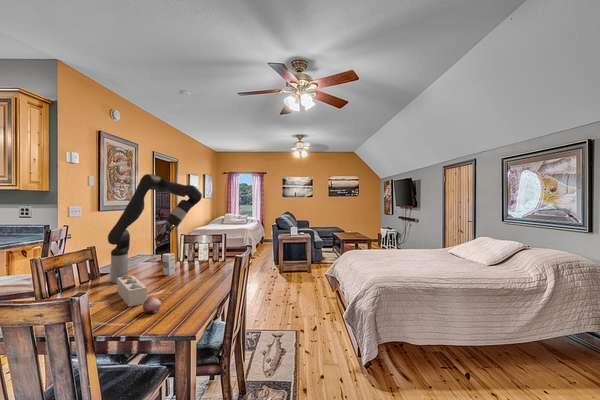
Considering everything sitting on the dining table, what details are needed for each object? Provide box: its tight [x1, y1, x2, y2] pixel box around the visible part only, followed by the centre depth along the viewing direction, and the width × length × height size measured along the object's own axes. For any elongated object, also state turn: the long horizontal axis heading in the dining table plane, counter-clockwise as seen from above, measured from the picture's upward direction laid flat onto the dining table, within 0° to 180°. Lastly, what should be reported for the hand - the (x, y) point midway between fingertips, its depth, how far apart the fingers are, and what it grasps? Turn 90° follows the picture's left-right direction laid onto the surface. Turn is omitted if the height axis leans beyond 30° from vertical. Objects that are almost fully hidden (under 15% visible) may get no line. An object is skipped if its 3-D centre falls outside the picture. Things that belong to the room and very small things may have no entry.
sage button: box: [132, 283, 141, 289], centre depth 153 cm, size 4×4×2 cm
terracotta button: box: [123, 274, 132, 280], centre depth 170 cm, size 4×4×2 cm
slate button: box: [127, 279, 135, 284], centre depth 162 cm, size 4×4×2 cm
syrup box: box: [162, 252, 176, 277], centre depth 209 cm, size 6×6×14 cm
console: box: [116, 275, 148, 307], centre depth 162 cm, size 30×8×8 cm, turn 41°
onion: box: [142, 296, 162, 314], centre depth 141 cm, size 8×8×7 cm
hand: (157, 241), depth 162 cm, fingers open, 8 cm apart
